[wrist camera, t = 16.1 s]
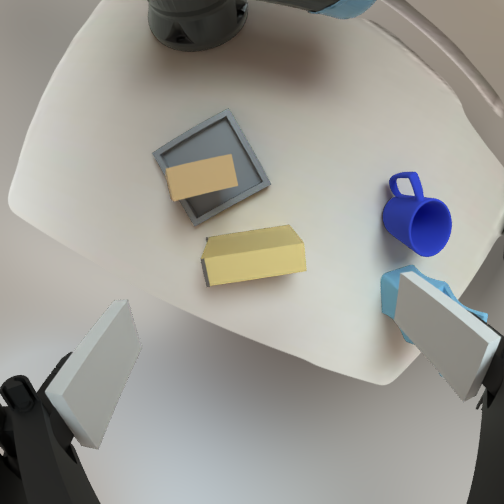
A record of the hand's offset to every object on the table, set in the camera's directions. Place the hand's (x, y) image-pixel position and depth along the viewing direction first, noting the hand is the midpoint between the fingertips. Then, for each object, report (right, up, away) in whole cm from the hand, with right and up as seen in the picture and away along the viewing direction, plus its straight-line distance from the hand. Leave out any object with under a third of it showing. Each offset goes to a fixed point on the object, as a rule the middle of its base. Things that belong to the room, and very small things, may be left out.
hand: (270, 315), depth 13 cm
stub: (-9, +13, +25) cm, 29 cm away
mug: (+22, +11, +29) cm, 38 cm away
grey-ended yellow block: (-1, +4, +30) cm, 30 cm away
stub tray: (-6, +15, +26) cm, 31 cm away
